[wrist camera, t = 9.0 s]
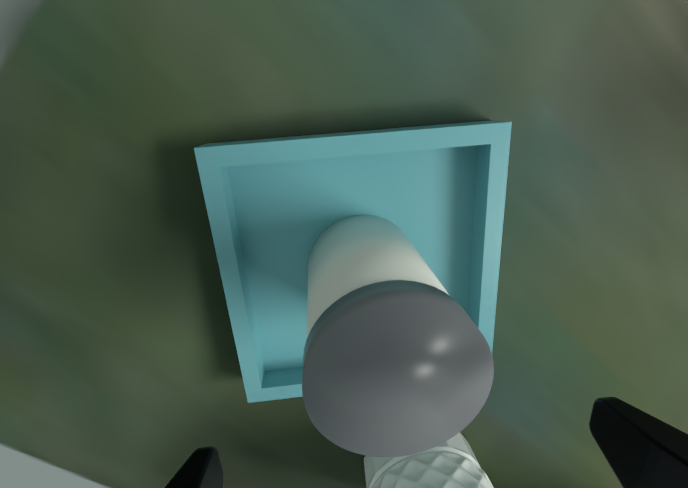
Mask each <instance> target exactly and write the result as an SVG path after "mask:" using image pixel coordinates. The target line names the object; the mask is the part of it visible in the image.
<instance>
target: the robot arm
mask: <svg viewBox="0 0 688 488" xmlns="http://www.w3.org/2000/svg"><path fill="white" fill-rule="evenodd" d="M589 426H590V431H591V433H592V435H593V437H594V439H595V441H596V442H597V444H598V446H599V447H600V449H601V451H602V452H603V454H604V456H605V458H606V459H607V461H608V463H609V464H610V466H611V468H612V469H613V471H614V473H615V475H616V476H617V478H618V480H619V481H620V483H621V485H622V486H623V488H688V434H686V433H684V432H682V431H680V430H678V429H676V428H674V427H672V426H671V425H669V424H667V423H665V422H663V421H661V420H659V419H657V418H655V417H653V416H651V415H649V414H647V413H645V412H643V411H641V410H639V409H637V408H636V407H634V406H632V405H630V404H628V403H626V402H624V401H622V400H620V399H618V398H615V397H605V398H598V399H596V400H595V401H594V405H593V409H592V413H591V418H590V423H589ZM222 487H223V470H222V467H221V463H220V459H219V455H218V452H217V449H216V448H215V447H213V446H211V447H203V448H198V449H196V450H195V451H194V452H193V453H192V455H191V456H190V457H189V458H188V460H187V461H186V462H185V463H184V464H183V466H182V467H181V468H180V469H179V471H178V472H177V473H176V474H175V475H174V477H173V478H172V479H171V480H170V482H169V483H168V484H167V485H166V487H165V488H222Z"/></svg>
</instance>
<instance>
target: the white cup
mask: <svg viewBox="0 0 688 488" xmlns="http://www.w3.org/2000/svg"><path fill="white" fill-rule="evenodd" d="M364 469H365V478H366V487H367V488H494V487H493V485H492V483H491V482H490V480H489V478H488V476H487V475H486V473H485V472H484V470H482V469H481V467H480V465H479V463H478V461H477V459H476V457H475V455H474V453H473V451H472V449H471V447H470V445H469V444H468V442H467V440H466V439H465V438H464V436H463V435H462V434H461V432H459V433H458V434H457V435H455V436H454V437H452V438H451V439H449V440H447V441H446V442H444V443H442V444H440V445H438V446H436V447H434V448H431V449H429V450H426V451H423V452H420V453H416V454H412V455H407V456H401V457H372V456H365V457H364Z"/></svg>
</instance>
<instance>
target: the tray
mask: <svg viewBox="0 0 688 488" xmlns="http://www.w3.org/2000/svg"><path fill="white" fill-rule="evenodd" d="M511 125H512V122H507V121H494V120H489V121H477V122H464V123H452V124H440V125H428V126H416V127H403V128H391V129H379V130H367V131H355V132H342V133H330V134H318V135H306V136H293V137H281V138H269V139H257V140H245V141H232V142H220V143H208V144H204V145H201V146H198V147H195V148H194V152H195V156H196V161H197V166H198V171H199V175H200V180H201V185H202V189H203V194H204V199H205V203H206V208H207V213H208V218H209V222H210V227H211V232H212V236H213V241H214V246H215V250H216V255H217V260H218V265H219V269H220V274H221V279H222V283H223V288H224V293H225V297H226V302H227V307H228V312H229V316H230V321H231V326H232V330H233V335H234V340H235V344H236V349H237V354H238V359H239V363H240V368H241V373H242V377H243V382H244V387H245V391H246V396H247V401H248V403H252V402H261V401H269V400H277V399H286V398H294V397H303V395H302V374H303V354H304V347H305V344H306V340H307V297H308V261H309V256H310V252H311V249H312V247H313V245H314V243H315V241H316V240H317V238H318V237H319V236H320V234H321V233H322V232H323V231H324V230H325V229H327V228H328V227H329V226H331V225H332V224H334V223H335V222H337V221H339V220H342V219H344V218H347V217H351V216H357V215H372V216H377V217H381V218H383V219H386V220H388V221H390V222H392V223H393V224H395V225H396V226H397V227H399V228H400V229H401V230H402V231H403V232H404V234H405V235H406V236H407V238H408V239H409V240H410V242H411V243H412V244H413V246H414V247H415V249H416V250H417V251H418V253H419V254H420V255H421V257H422V258H423V260H424V261H425V262H426V264H427V265H428V266H429V268H430V269H431V271H432V272H433V273H434V275H435V276H436V277H437V279H438V280H439V282H440V283H441V284H442V286H443V287H444V288H445V290H446V291H447V292H448V294H449V295H450V296H451V297H452V298H454V299H455V300H456V301H457V302H458V303H459V304H460V305H461V306H462V308H463V309H464V310H465V312H466V313H467V314H468V315H469V317H470V318H471V319H472V321H473V322H474V323H475V325H476V326H477V327H478V329H479V330H480V332H481V333H482V334H483V336H484V337H485V339H486V341H487V343H488V345H489V347H490V350H491V353H492V347H493V335H494V324H495V312H496V300H497V289H498V277H499V265H500V254H501V242H502V230H503V218H504V207H505V195H506V183H507V172H508V160H509V148H510V137H511Z"/></svg>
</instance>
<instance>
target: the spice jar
mask: <svg viewBox="0 0 688 488" xmlns="http://www.w3.org/2000/svg"><path fill="white" fill-rule="evenodd" d="M493 376H494V364H493V357H492V353H491V350H490V347H489V345H488V343H487V341H486V339H485V337H484V336H483V334H482V333H481V332H480V330H479V329H478V327H477V326H476V325H475V323H474V322H473V321H472V319H471V318H470V317H469V315H468V314H467V313H466V312H465V310H464V309H463V308H462V306H461V305H460V304H459V303H458V302H457V301H456V300H455V299H454V298H452V297H451V296H450V295H449V294H448V292H447V291H446V290H445V288H444V287H443V286H442V284H441V283H440V282H439V280H438V279H437V277H436V276H435V275H434V273H433V272H432V271H431V269H430V268H429V266H428V265H427V264H426V262H425V261H424V260H423V258H422V257H421V255H420V254H419V253H418V251H417V250H416V249H415V247H414V246H413V244H412V243H411V242H410V240H409V239H408V238H407V236H406V235H405V234H404V232H403V231H402V230H401V229H400V228H399V227H397V226H396V225H395V224H393V223H392V222H390V221H388V220H386V219H383V218H381V217H377V216H372V215H357V216H351V217H347V218H344V219H342V220H339V221H337V222H335V223H334V224H332V225H331V226H329V227H328V228H327V229H325V230H324V231H323V232H322V233H321V234H320V236H319V237H318V238H317V240H316V241H315V243H314V245H313V247H312V249H311V252H310V256H309V261H308V297H307V340H306V344H305V347H304V354H303V374H302V395H303V402H304V406H305V409H306V412H307V414H308V416H309V418H310V420H311V421H312V423H313V425H314V426H315V427H316V428H317V430H318V431H319V432H320V433H321V434H322V435H323V436H325V437H326V438H327V439H328V440H329V441H331V442H332V443H334V444H336V445H337V446H339V447H341V448H343V449H345V450H348V451H351V452H354V453H356V454H361V455H365V456H372V457H401V456H407V455H412V454H416V453H420V452H423V451H426V450H429V449H431V448H434V447H436V446H438V445H440V444H442V443H444V442H446V441H447V440H449V439H451V438H452V437H454V436H455V435H457V434H458V433H459V432H460V431H462V430H463V429H464V428H465V427H466V426H467V425H468V424H469V423H470V422H471V421H472V420H473V419H474V418H475V417H476V416H477V414H478V413H479V412H480V410H481V408H482V407H483V405H484V404H485V402H486V400H487V397H488V395H489V393H490V389H491V386H492V382H493Z"/></svg>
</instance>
